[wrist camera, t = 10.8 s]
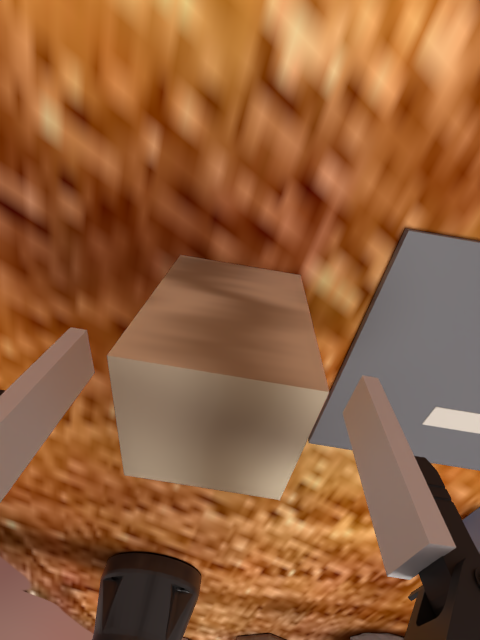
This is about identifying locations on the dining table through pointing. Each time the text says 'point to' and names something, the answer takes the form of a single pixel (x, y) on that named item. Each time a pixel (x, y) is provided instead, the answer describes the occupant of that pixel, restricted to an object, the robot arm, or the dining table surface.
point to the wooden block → (259, 637)
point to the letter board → (420, 351)
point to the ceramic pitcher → (376, 637)
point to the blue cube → (474, 527)
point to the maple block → (218, 379)
